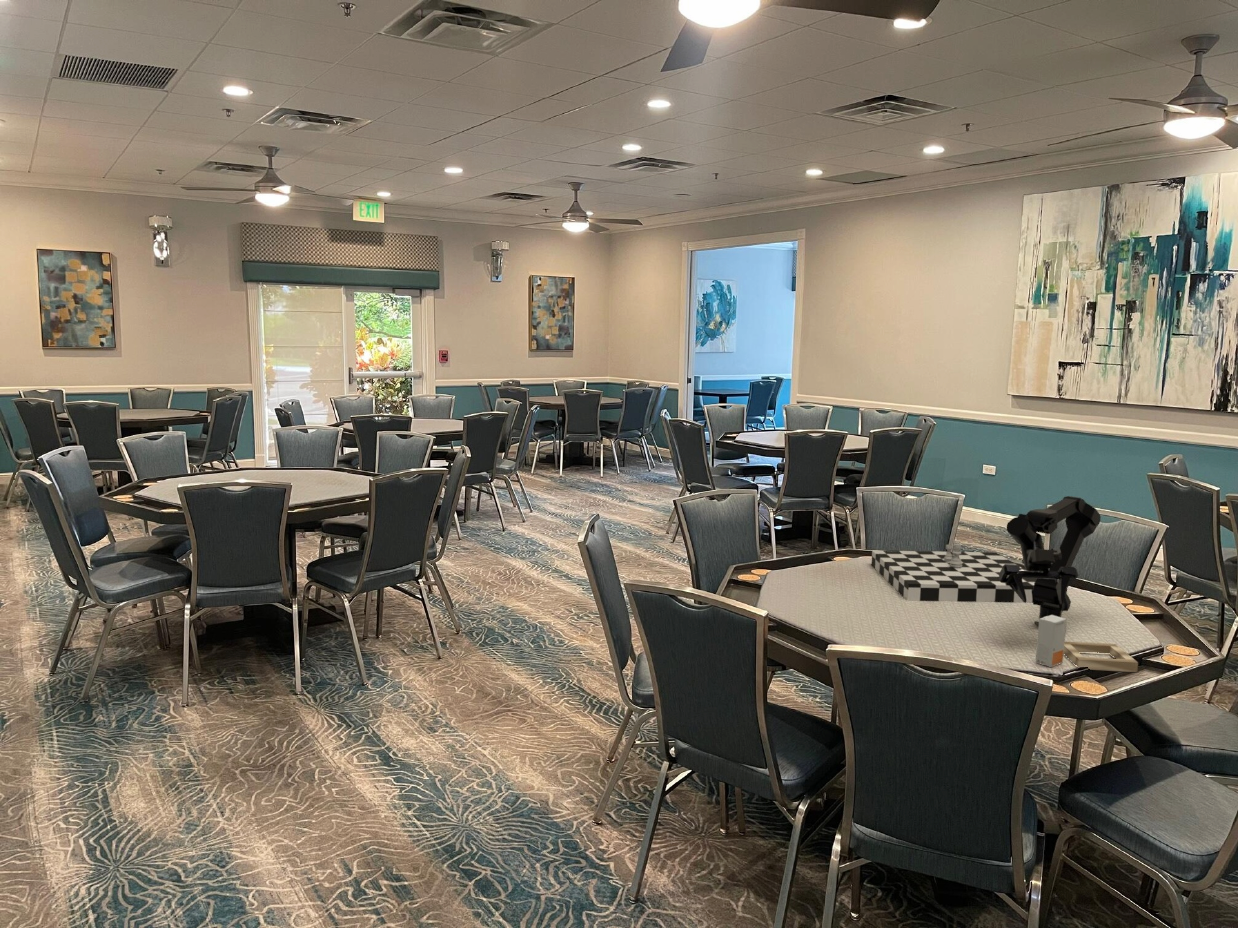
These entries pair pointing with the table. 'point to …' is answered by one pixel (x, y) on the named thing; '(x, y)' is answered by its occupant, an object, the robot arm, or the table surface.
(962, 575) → the checkerboard
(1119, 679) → the table surface
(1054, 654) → the skincare box
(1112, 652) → the wooden picture frame
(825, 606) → the table surface
